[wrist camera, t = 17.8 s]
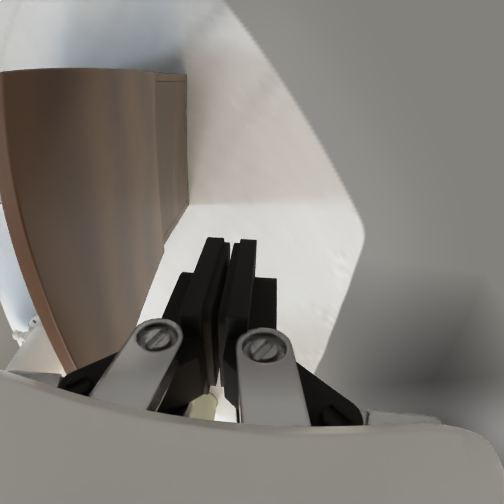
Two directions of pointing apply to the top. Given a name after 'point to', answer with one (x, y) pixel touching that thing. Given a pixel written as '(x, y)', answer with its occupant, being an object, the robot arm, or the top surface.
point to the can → (204, 407)
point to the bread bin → (171, 148)
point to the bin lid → (82, 201)
